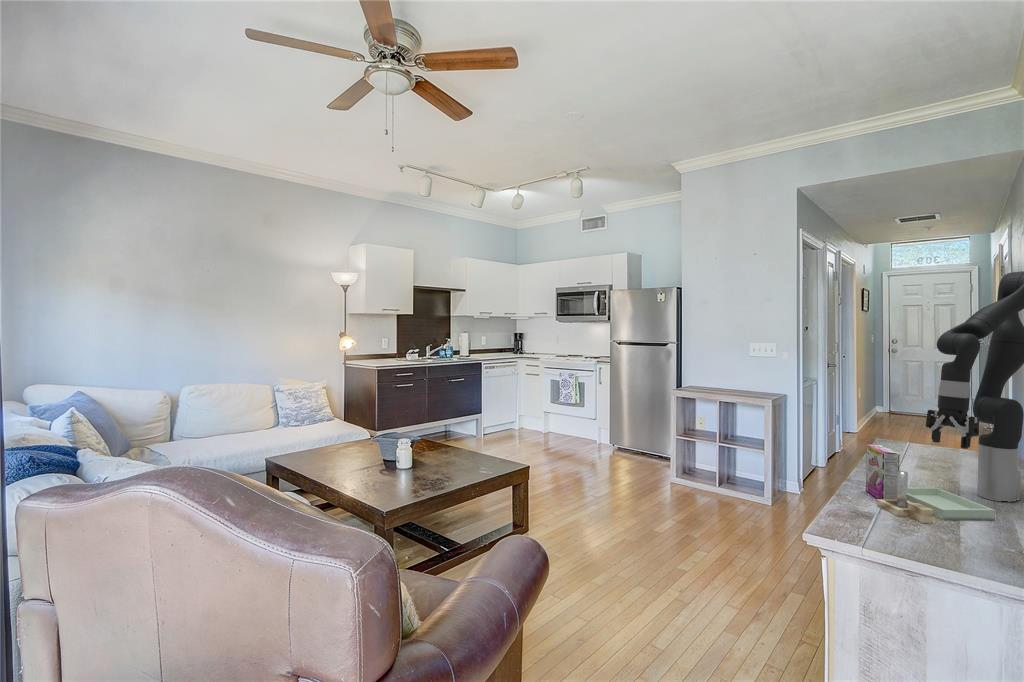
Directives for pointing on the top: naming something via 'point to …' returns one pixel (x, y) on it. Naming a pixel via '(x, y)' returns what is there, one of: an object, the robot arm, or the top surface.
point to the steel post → (902, 489)
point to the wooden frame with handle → (907, 510)
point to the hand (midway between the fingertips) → (949, 445)
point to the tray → (949, 505)
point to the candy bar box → (881, 471)
